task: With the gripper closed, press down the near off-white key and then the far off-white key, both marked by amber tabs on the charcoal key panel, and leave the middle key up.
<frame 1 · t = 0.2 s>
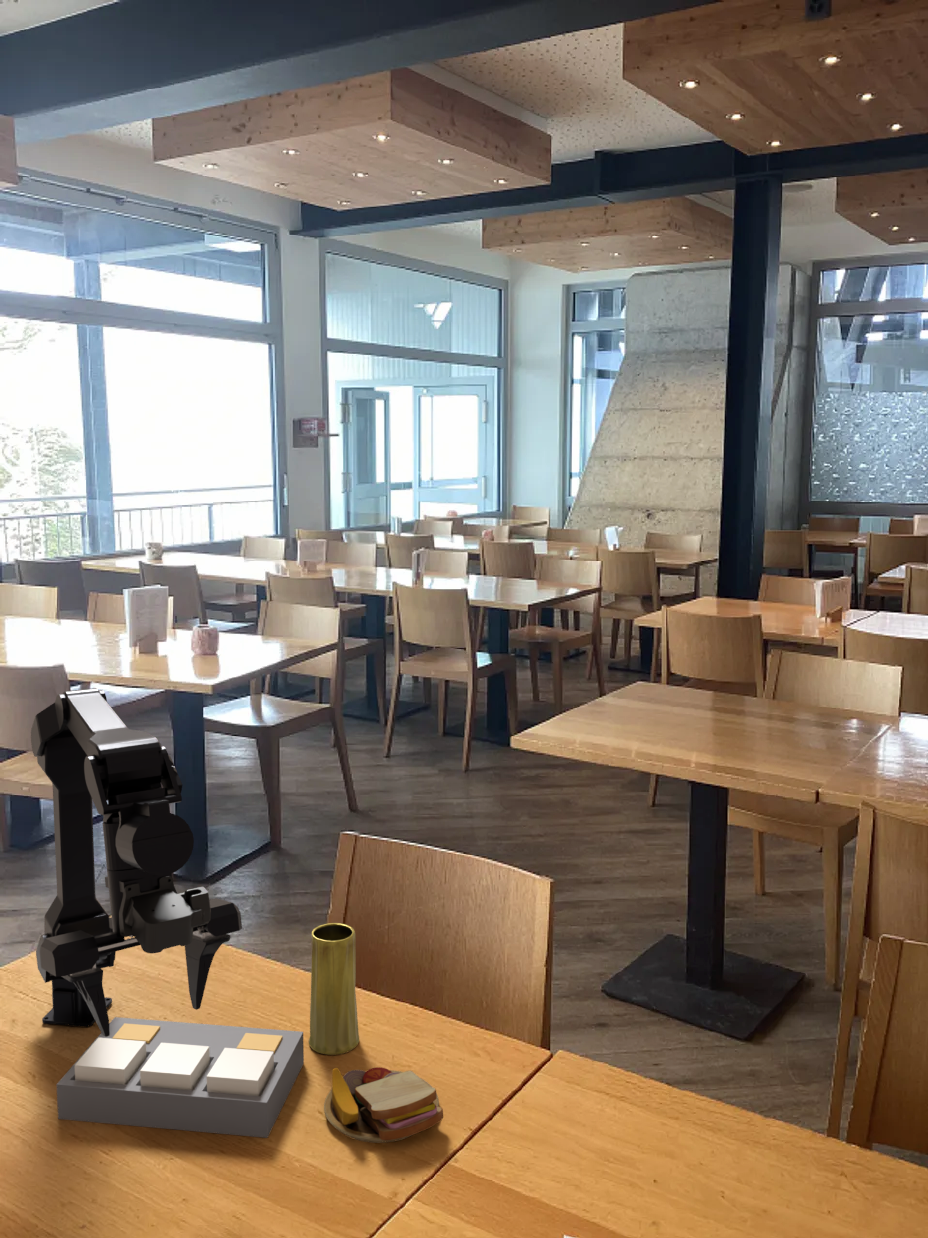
hand: (152, 1022, 106), 15 cm above the table, tool pointing down, fingers open, 9 cm apart
toy sandwich meal: (386, 1116, 116), on the table
key far: (241, 1074, 115), point 4 cm above the table, slide at 0.0 cm
vase: (333, 1043, 130), on the table
key middle: (175, 1069, 116), point 4 cm above the table, slide at 0.0 cm
key near: (111, 1063, 117), point 4 cm above the table, slide at 0.0 cm
key panel: (186, 1090, 120), on the table
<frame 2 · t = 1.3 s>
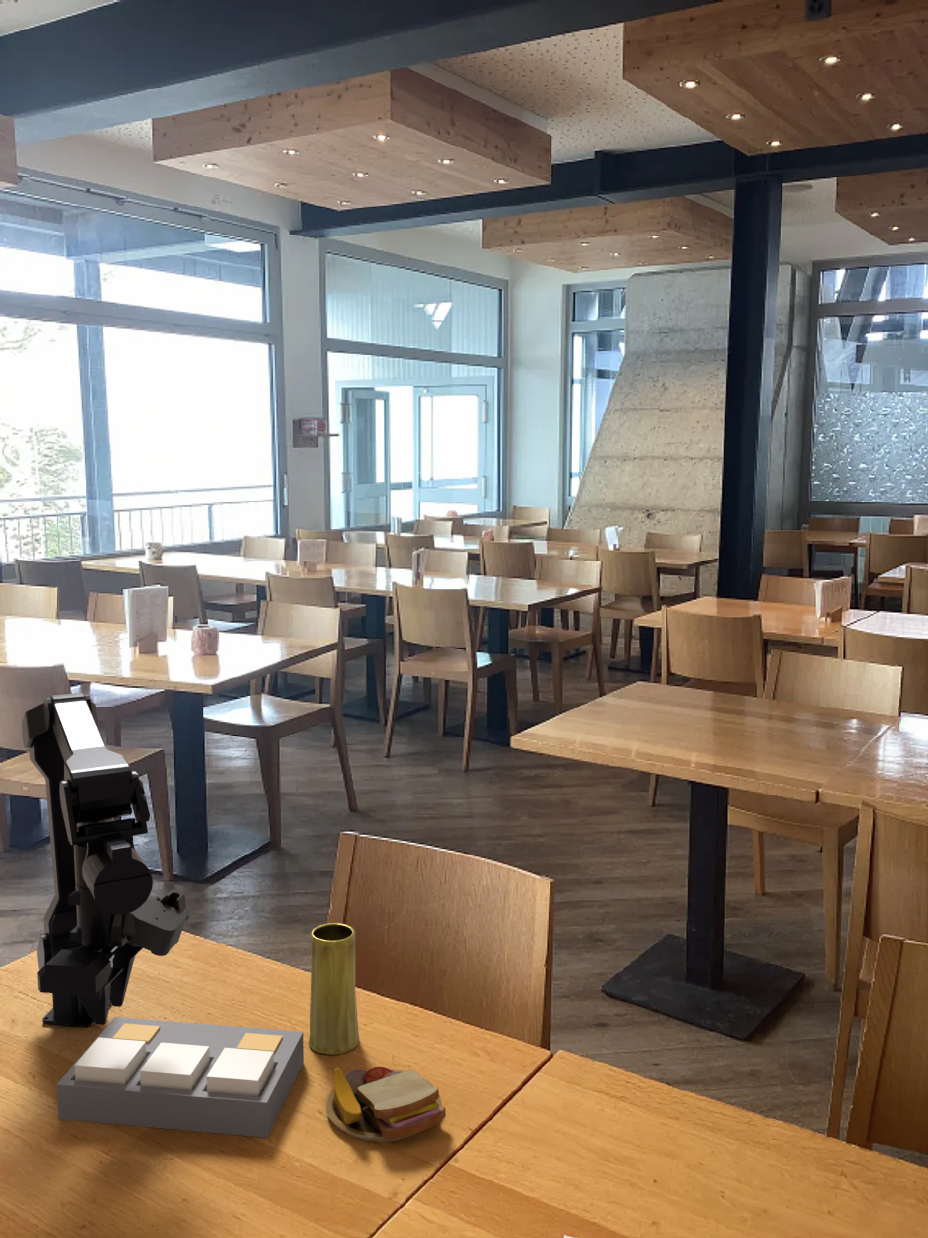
hand: (109, 1015, 116), 10 cm above the table, tool pointing down, fingers open, 4 cm apart
nothing on the table moved.
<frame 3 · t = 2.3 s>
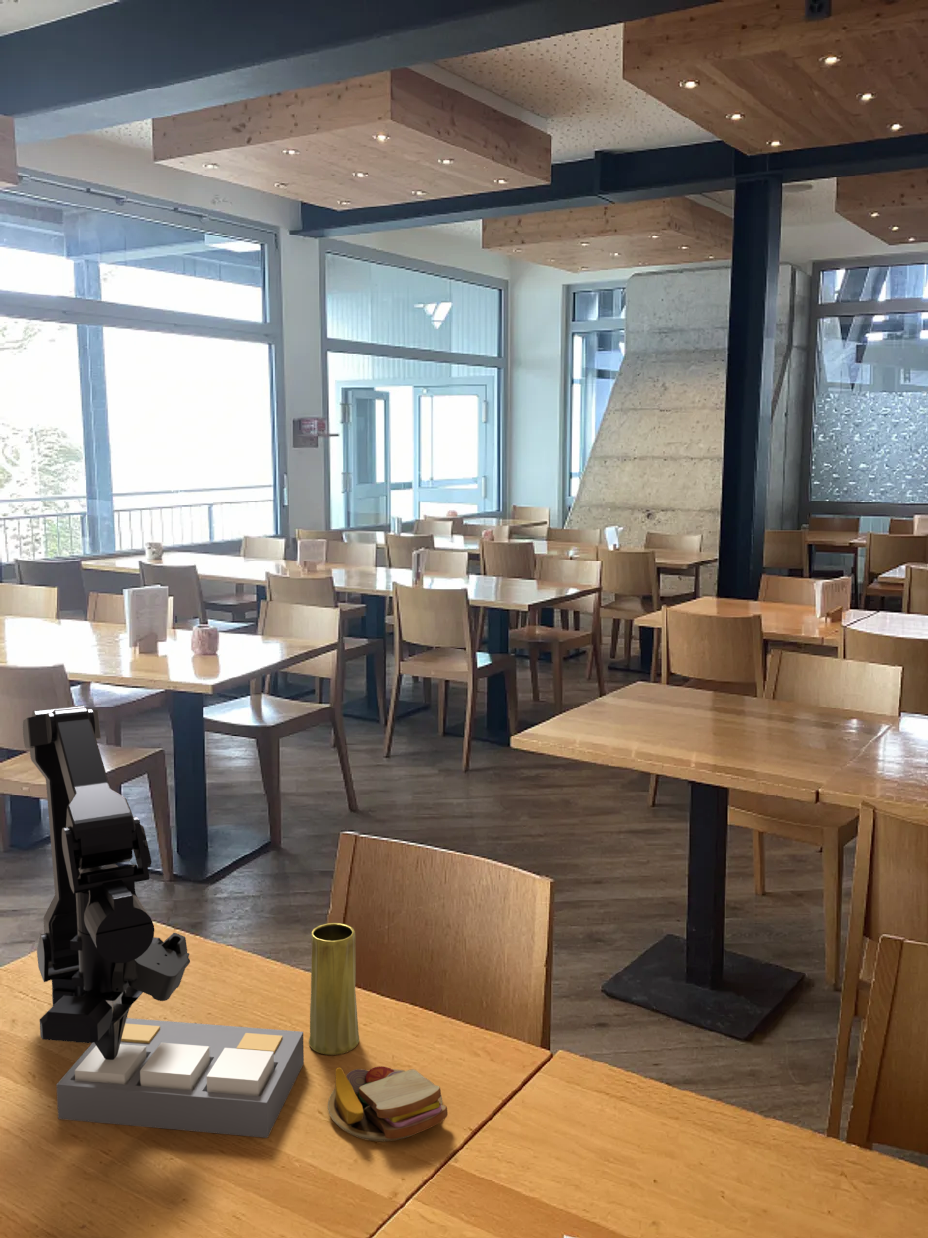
hand: (111, 1058, 117), 5 cm above the table, tool pointing down, fingers closed, pressing on key near
key near: (111, 1068, 117), point 4 cm above the table, slide at 0.6 cm, touching gripper
everything else where it was.
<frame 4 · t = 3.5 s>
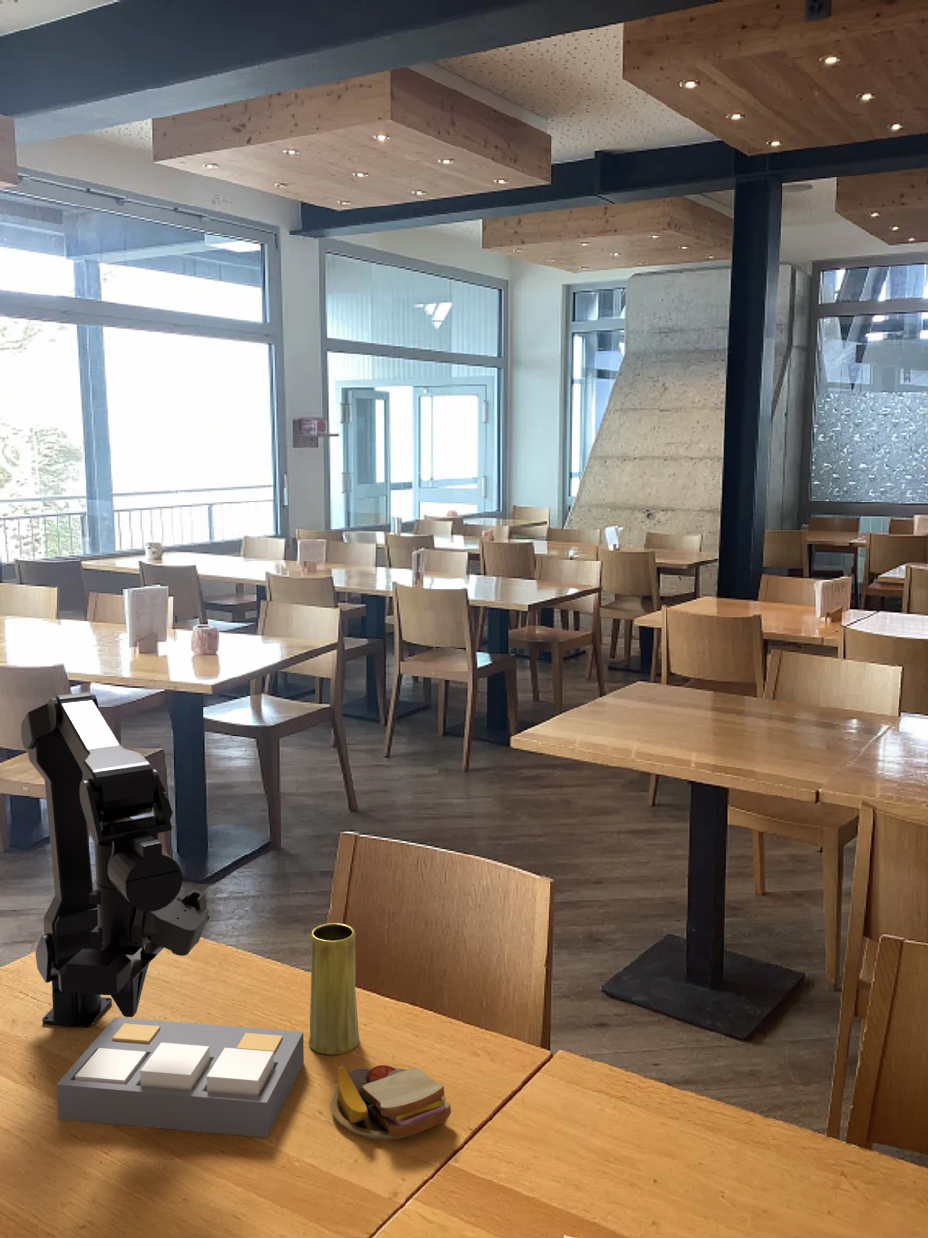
hand: (130, 1015, 116), 10 cm above the table, tool pointing down, fingers closed
key near: (111, 1074, 117), point 3 cm above the table, slide at 1.3 cm
everything else where it was.
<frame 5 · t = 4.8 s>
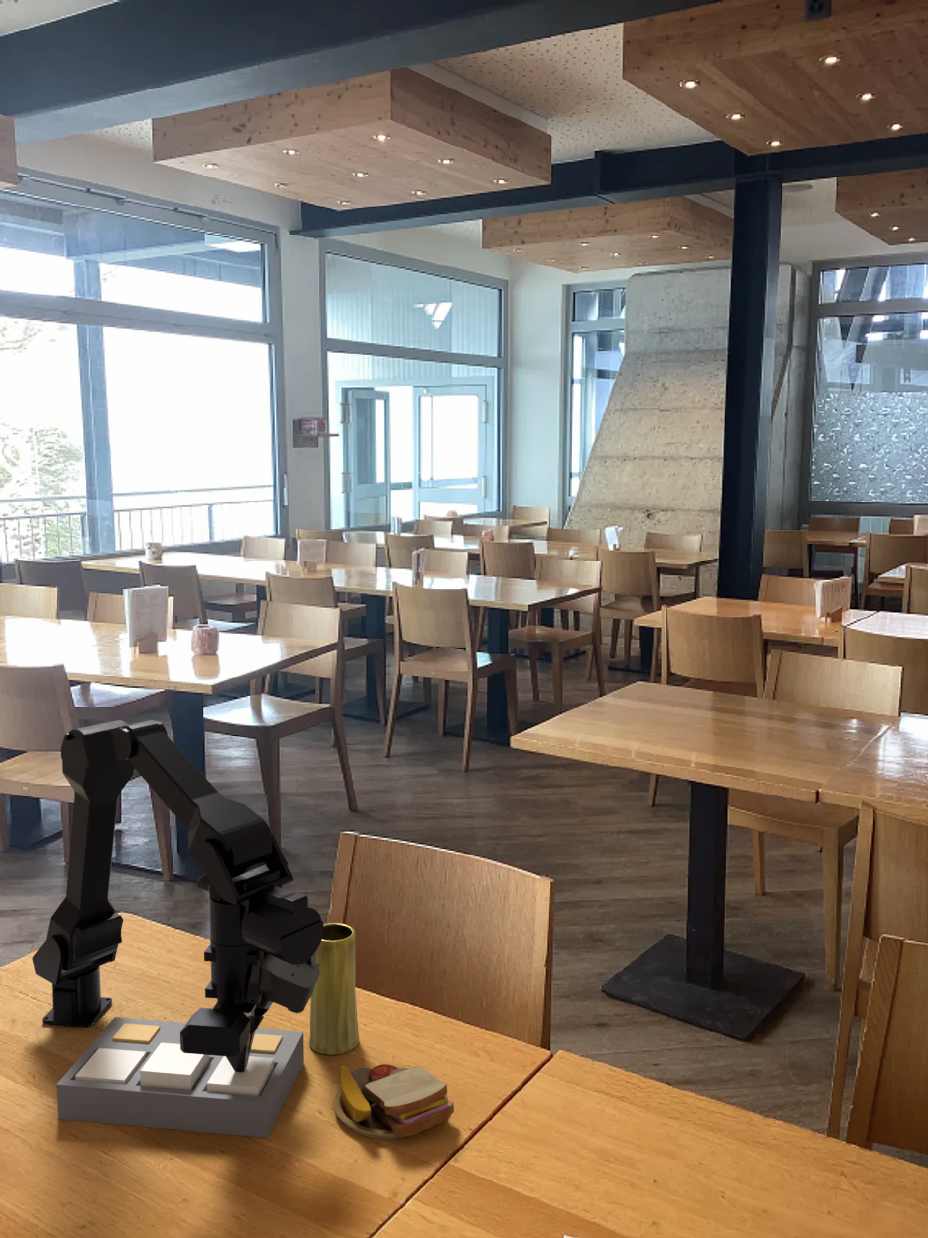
hand: (240, 1070, 115), 5 cm above the table, tool pointing down, fingers closed, pressing on key far
key far: (241, 1081, 115), point 3 cm above the table, slide at 0.8 cm, touching gripper
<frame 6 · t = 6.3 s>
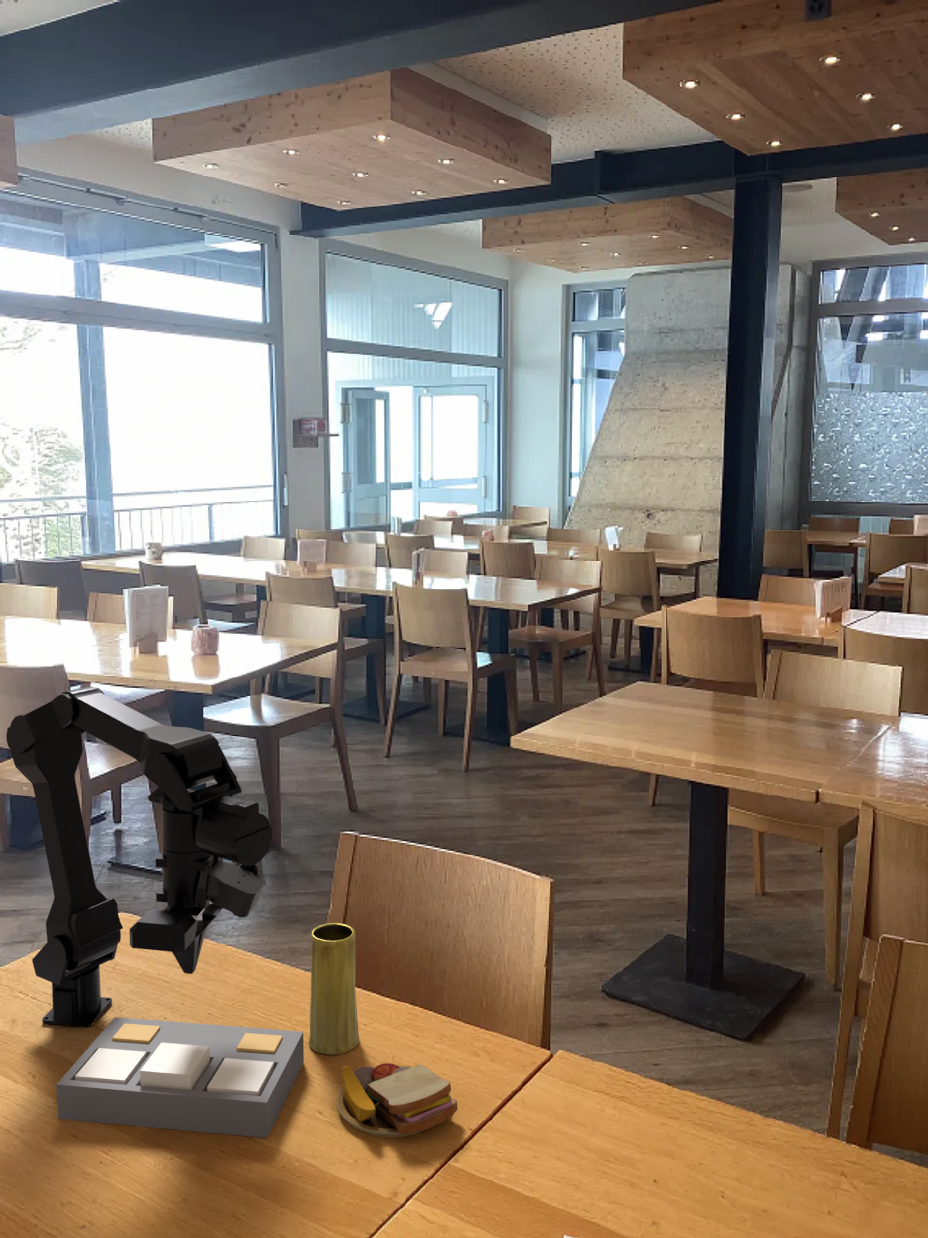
hand: (189, 972, 123), 11 cm above the table, tool pointing down, fingers closed
key far: (241, 1085, 115), point 3 cm above the table, slide at 1.3 cm
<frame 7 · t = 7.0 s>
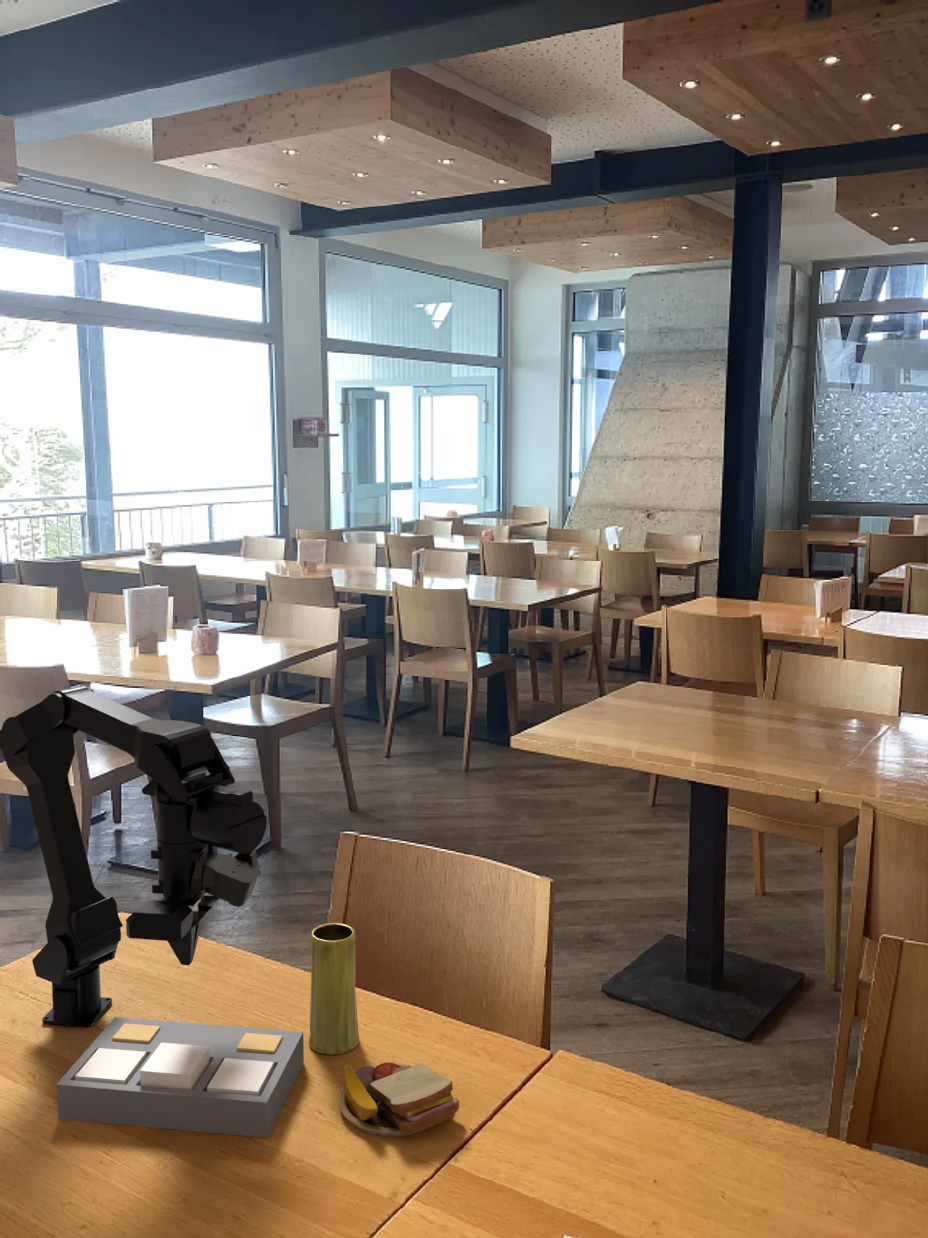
hand: (186, 963, 124), 12 cm above the table, tool pointing down, fingers closed
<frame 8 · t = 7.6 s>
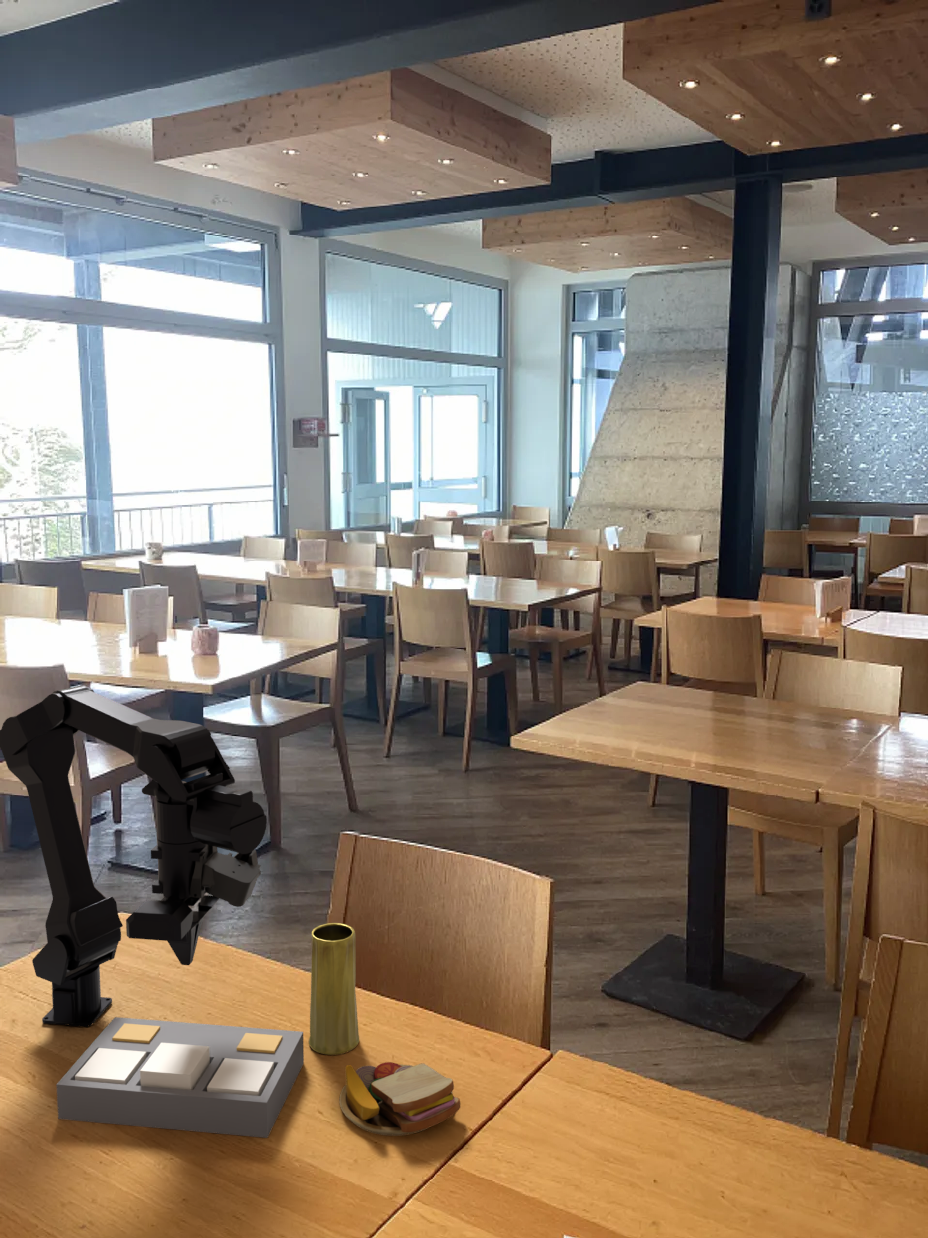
hand: (186, 963, 124), 12 cm above the table, tool pointing down, fingers closed
at the end: key near slide at 1.3 cm; key far slide at 1.3 cm; key middle slide at 0.0 cm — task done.
